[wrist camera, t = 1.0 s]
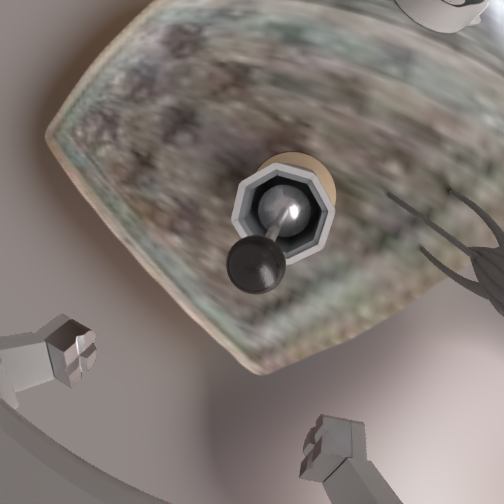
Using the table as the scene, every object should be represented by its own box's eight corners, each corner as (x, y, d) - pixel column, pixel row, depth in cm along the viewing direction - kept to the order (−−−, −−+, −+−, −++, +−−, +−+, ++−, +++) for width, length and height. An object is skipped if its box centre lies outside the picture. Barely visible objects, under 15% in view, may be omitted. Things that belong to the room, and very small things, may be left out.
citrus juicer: (423, 252, 44) (511, 373, 17) (373, 227, 45) (436, 343, 17) (453, 190, 40) (581, 257, 12) (403, 161, 40) (519, 193, 13)
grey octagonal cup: (262, 142, 44) (237, 141, 31) (346, 166, 43) (358, 175, 29) (241, 227, 49) (211, 259, 36) (319, 251, 48) (318, 292, 35)
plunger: (266, 178, 34) (211, 213, 17) (317, 193, 34) (315, 244, 16) (254, 226, 37) (194, 302, 19) (302, 241, 36) (284, 332, 19)
